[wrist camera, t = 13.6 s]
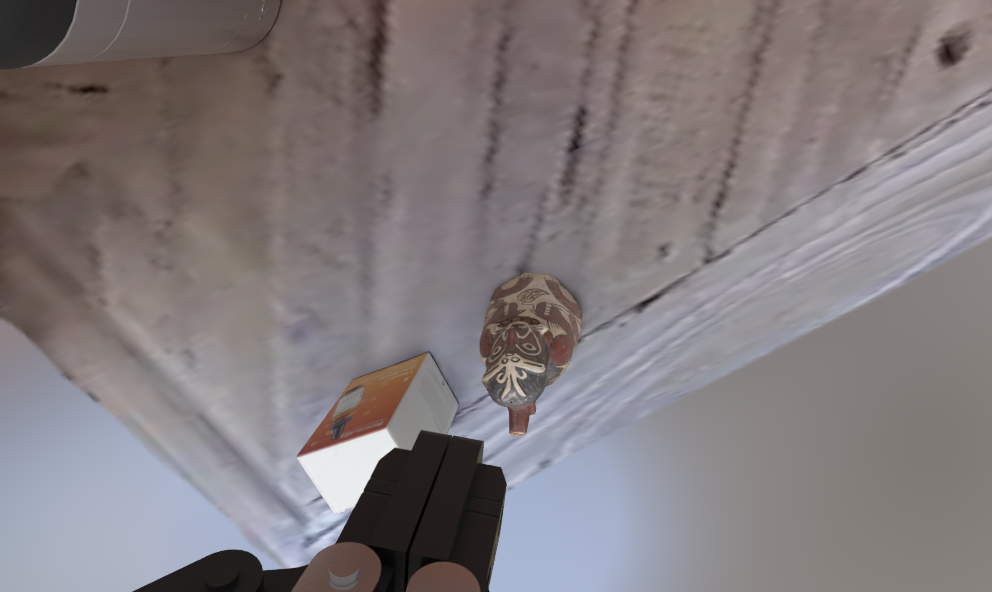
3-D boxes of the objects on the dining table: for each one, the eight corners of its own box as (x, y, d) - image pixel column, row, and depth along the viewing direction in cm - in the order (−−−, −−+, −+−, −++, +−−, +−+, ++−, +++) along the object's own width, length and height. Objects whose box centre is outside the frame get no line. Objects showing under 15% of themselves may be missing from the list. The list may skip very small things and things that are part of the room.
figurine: (584, 276, 45) (577, 356, 34) (579, 360, 48) (570, 458, 37) (489, 270, 46) (452, 345, 35) (489, 352, 49) (455, 446, 38)
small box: (430, 349, 50) (388, 426, 40) (461, 404, 51) (427, 490, 42) (350, 378, 52) (292, 457, 43) (381, 430, 54) (333, 517, 44)
